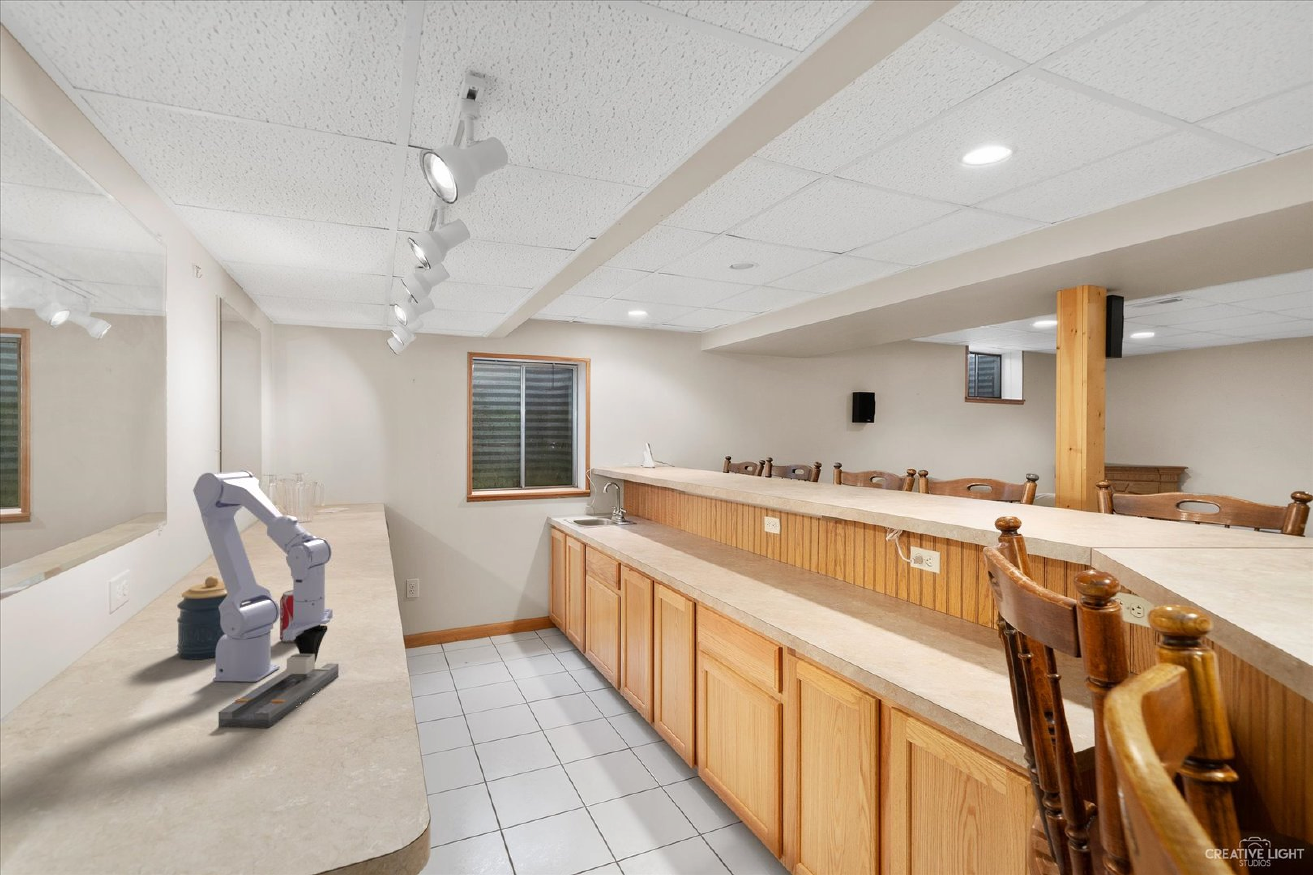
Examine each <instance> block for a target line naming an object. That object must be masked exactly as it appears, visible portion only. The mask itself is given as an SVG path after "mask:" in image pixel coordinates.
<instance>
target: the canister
mask: <svg viewBox="0 0 1313 875" xmlns="http://www.w3.org/2000/svg"><path fill="white" fill-rule="evenodd" d="M227 595H228V594H227V591H226V588H225V585H224V582H223V581H219V579H218V577H217V576H214V575H212V576H207V577H206V578H205V580H204V583H200V584H196V585H193V586H191V587H189V589H187V590H186V591H184V592H183V593H181V597H182V598H183V600H180V602H178V603H177V606H176V607H177V608H178V609H179V611H180V612H179V616H178V618H177V620H176V621H177V630H178V632H177V636H178V637H177V639H178V640H177V646H176V647H177V649H176V651H177V653H178V657H179V658H181V659H185V660H203V659H210V658H211V659H212V658H216V646H217V643H218V641H219V639H220V638H221V637H222V636H223V635H225V633H224V632H223V630H222V628H221V624H220V619H221V615H220V611H219V608H218V607H219V605H220V604H221V603H222V601H223V600H224V599H225V598H226V596H227ZM240 605H243V603H241V604H240Z"/></svg>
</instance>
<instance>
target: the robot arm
mask: <svg viewBox="0 0 1313 875" xmlns="http://www.w3.org/2000/svg"><path fill="white" fill-rule="evenodd" d="M192 491H193V492H192V493H193V494H194V497H195V500H196V503H197V505H198V509H199V512H200V517H201V521H202V524H203V526H204V529H205V530H204V531H205V532H206V535H207V538H208V541H209V545H210V547H211V549H212V554H213V556H214V559H215V561H216V565H217V567H218V570H219V573H220V576H221V579H222V582H224V585H225V588H226V591H227V594H228V595H227V596H226V598H225V599H224V600H223V601H222V603H221V604H220V605H219V607H218V608H219V611H220V615H221V619H220V624H221V628H222V630H223V632H224V633H225V635H223V636H222V637H221V638H220V639H219V641H218V643H217V646H216V657H215V677H213V678H212V681H213V682H250V683H251V682H259V681H261V680H262V679H263V678H266V677H267V676H269V675H271V673H274V672H275V671H277V670H278V669H280V668H281V665H279V664H278V665H277V664H273V665H271V657H272V656H271V651H272V649H271V647H272V646H271V644H272V643H271V642H272V641H271V637H272V636H271V631H272V629H274V624H275V623H277V622H278V619H280V605H279V604H278V602H277V600H275V599H274V597H273V596H272V594H271V591H270V590H269V589H268V588H266V587H263V586H262V585H260V584H258V583H257V581H256V577H255V575H254V572H253V569H252V567H251V563H250V560H249V557H248V554H247V552H246V549H245V546H244V543H243V541H242V540H243V539H242V538H241V534H240V532H239V529H238V526H237V523H236V519H235V515H236V514H237V512H238V511H240V510H241V509H242V508H243V507H244V508H245V509H247V511H249V512H250V513H251V514H252V515H253V516H255V517H256V518H257V519H258V520H259V521H261V522H262V523H263V524H264V525H265V526H266V527H267V529H266V534H267V536H268V537H269V538H270V539H271V540H272V541H273V542H274V543H275V544H276V545H277V546H278V547H279V548H280V549H281V550H282V552H284V553H285V554H286V555H285V561H286V564H287V566H288V567H289V570H290V577H291V578H292V580H293V589H292V590H293V621H292V622H291V624H290V625H289V626H288V627H287V628H286V629H285V630H283V640H293V641H294V642H293V643H294V644H295V646H296V648H297V650H298V652H299V653H298V654H315V663H316V661H317V659H318V658H317V657H318V654H319V651H320V647H321V644H322V641H323V639H324V637H325V635H326V633H327V631H328V625H326V624H328V623H330V622H331V619H333V609H327V608H326V604H325V603H326V601H325V600H326V598H325V597H326V587H325V586H326V585H325V583H326V582H325V581H326V580H325V578H326V576H325V574H326V572H325V571H326V570H325V569H326V564H328V563H329V561H330V560H331V557H332V548H331V545H330V544H329V543H328V540H327V539H325V538H324V537H317V536H315V535H313V534H311V532H309V531H308V530H307V529H305V527H304V526H302V524H300V522H299V519H298V518H297V517H296V516H292V515H287V514H286V515H283V514H282V512H280V510H278V508H277V507H276V506H275V505H274V503H273V501H271V500H270V499H269V498H268V496H267V495H266V494H265V493H264V492H263V491H262V489H260V480H259V479H257V477H255V475H254V474H253V473H252V472H251V471H249V470H245V469H243V470H237V471H222V472H204V473H203V474H202V473H201V475H200V476H199V477H198V479H197V481H196V483H195V485H194V488H193V489H192ZM241 603H242V605H240V604H241Z"/></svg>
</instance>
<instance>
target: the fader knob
mask: <svg viewBox="0 0 1313 875" xmlns="http://www.w3.org/2000/svg"><path fill="white" fill-rule="evenodd" d="M286 669H287V674H295V680H304V679H305V678H307V673H309V672H310V671H312V670H313V669H316V662H315V654H300V653H294V654H292V655H290V656H289V657H288V658H286Z"/></svg>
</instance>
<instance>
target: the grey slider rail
mask: <svg viewBox="0 0 1313 875" xmlns="http://www.w3.org/2000/svg"><path fill="white" fill-rule="evenodd" d="M338 677H339V663H326V664H324V665H323V666H322V667H319V668H315V669H313V670H312V671H310V672H309V673H307V678H305V679H304V680H295V674H287V668H285V670H284V671H281V672H280V673H278V674H277V675H275V676H273V677H272V678H270V679H269V680H268V681H266V682H264V683H263V684H261V685H259V686H258V687H256V688H254V689H253V690H251V691H249V692H248V693H246V694H245V695H243V696H241V697H240V698H237V699H235V700H234V701H233V702H232V703H230V704H229V705H227V706H226V707H224V708H223V709H221V710H219V711H218V728H249V729H269V728H271V727H273V726H274V725H275V724H277V723H278V722H279V721H281V719H283V718H284V717H286V716H287V715H289V714H290V713H291V712H292V711H294V710H295V709H297V707H296V706H298V705H299V706H300V705H301V704H300V703H302V702H303V703H304V702H306V701H307V700H308V699H307V698H309V697H310V696H311V695H312V694H313V693H315V694H317V693H318V692H319V691H321V690H322V689H323V688H324V686H325V685H326V686H327V685H328V683H329V684H330V683H331V682H333V681H334V680H335V679H336V678H338ZM326 686H325V687H326ZM321 688H322V689H321ZM320 689H321V690H320ZM318 690H319V691H318ZM317 691H318V692H317ZM316 692H317V693H316ZM311 697H312V696H311ZM311 697H310V698H311ZM310 698H309V699H310ZM306 699H307V700H306ZM305 700H306V701H305ZM303 703H302V704H303ZM299 706H298V707H299ZM294 708H295V709H294ZM293 709H294V710H293ZM289 712H290V713H289ZM285 715H286V716H285ZM278 720H279V721H278ZM274 723H275V724H274ZM273 724H274V725H273Z"/></svg>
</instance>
